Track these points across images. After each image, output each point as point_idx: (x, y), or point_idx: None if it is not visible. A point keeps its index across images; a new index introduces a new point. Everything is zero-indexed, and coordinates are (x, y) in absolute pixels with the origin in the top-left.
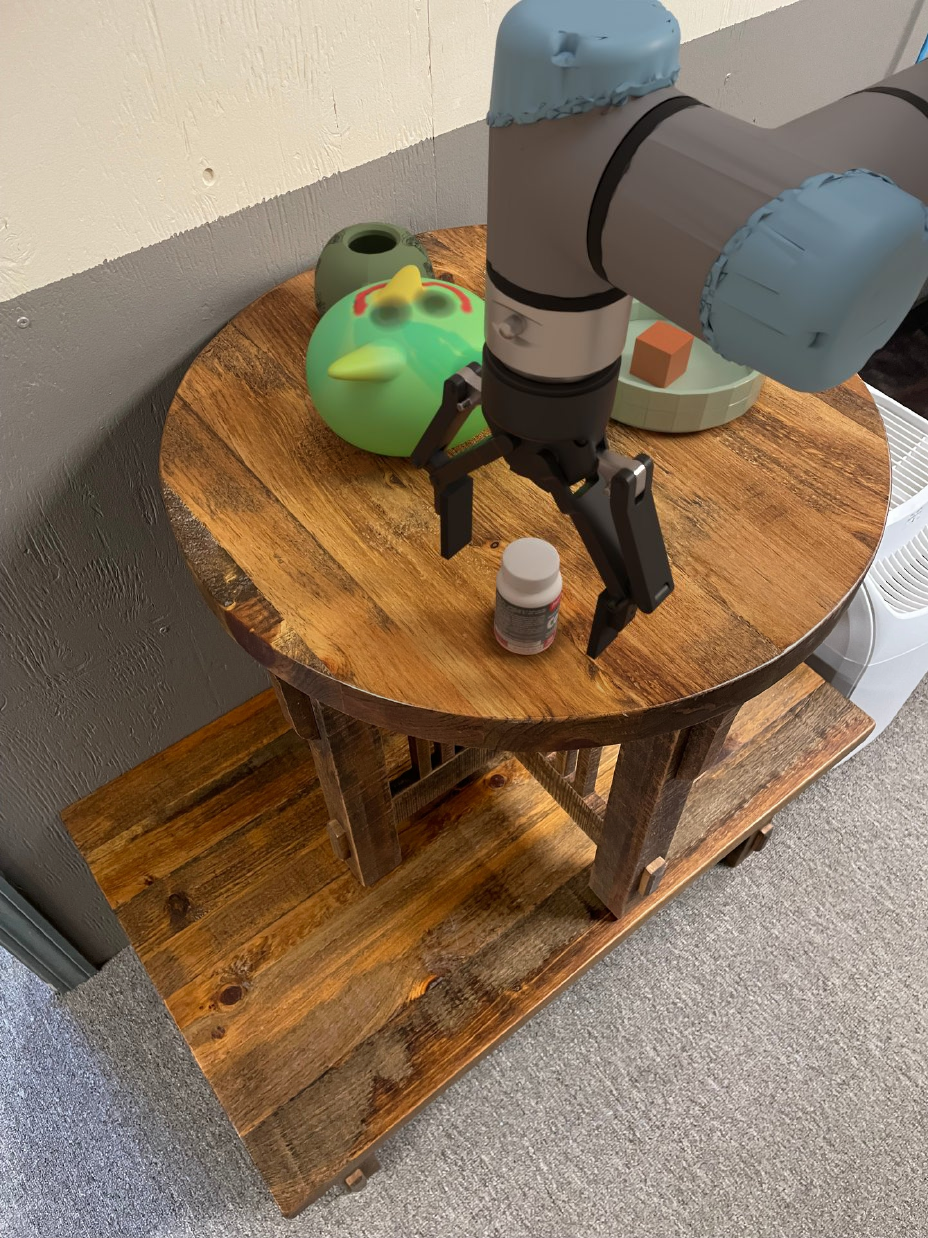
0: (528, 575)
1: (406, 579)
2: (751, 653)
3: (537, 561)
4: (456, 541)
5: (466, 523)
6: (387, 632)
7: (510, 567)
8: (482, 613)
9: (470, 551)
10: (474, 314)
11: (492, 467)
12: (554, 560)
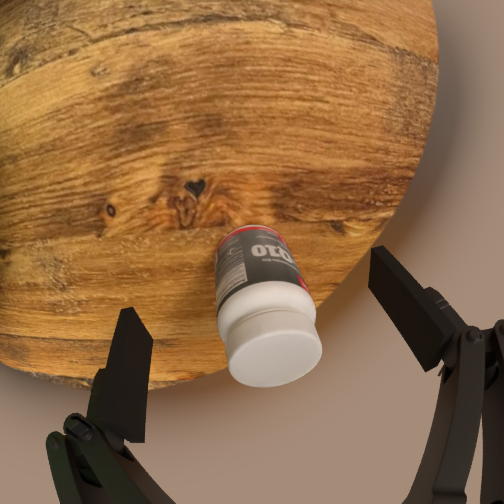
0: (299, 375)
1: None
2: (427, 86)
3: (289, 360)
4: (143, 346)
5: (131, 350)
6: (175, 346)
7: (269, 384)
8: (200, 277)
9: (108, 241)
10: None
11: (6, 145)
12: (307, 342)
